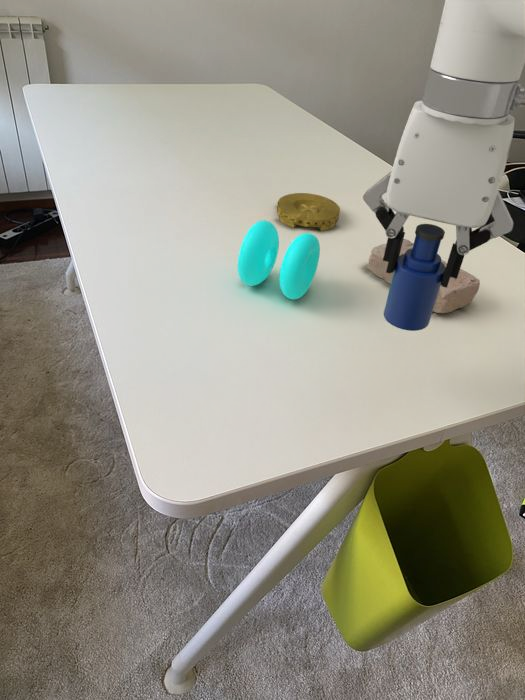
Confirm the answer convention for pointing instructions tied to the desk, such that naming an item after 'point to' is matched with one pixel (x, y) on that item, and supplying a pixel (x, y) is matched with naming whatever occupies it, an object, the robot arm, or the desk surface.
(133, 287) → the desk surface
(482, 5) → the robot arm
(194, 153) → the desk surface
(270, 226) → the pair of turquoise discs
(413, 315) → the bottle
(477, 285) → the brick
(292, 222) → the compass
